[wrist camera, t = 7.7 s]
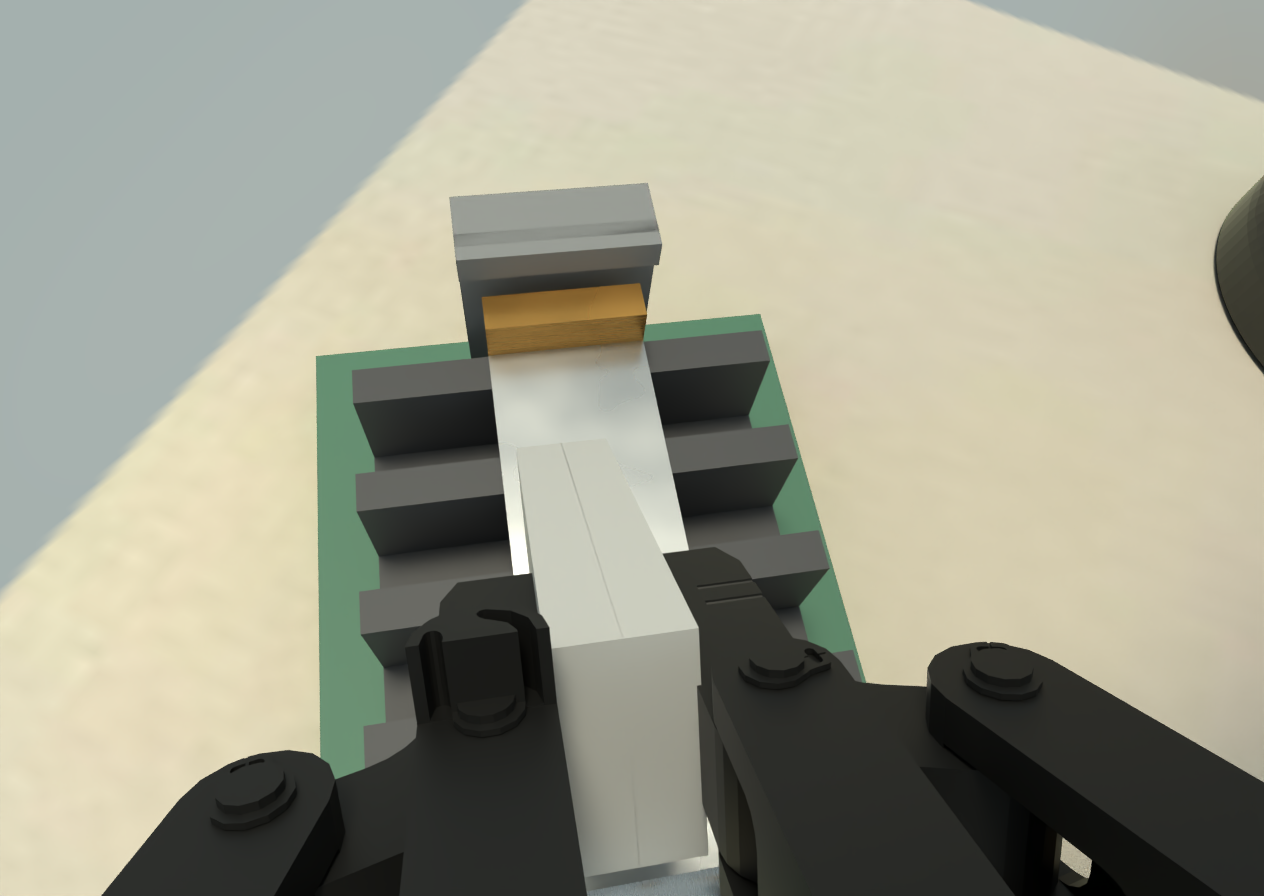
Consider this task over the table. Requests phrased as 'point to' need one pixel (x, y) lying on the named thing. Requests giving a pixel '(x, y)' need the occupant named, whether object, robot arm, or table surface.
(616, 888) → the silver flat bar
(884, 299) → the table surface
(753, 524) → the cpu board
